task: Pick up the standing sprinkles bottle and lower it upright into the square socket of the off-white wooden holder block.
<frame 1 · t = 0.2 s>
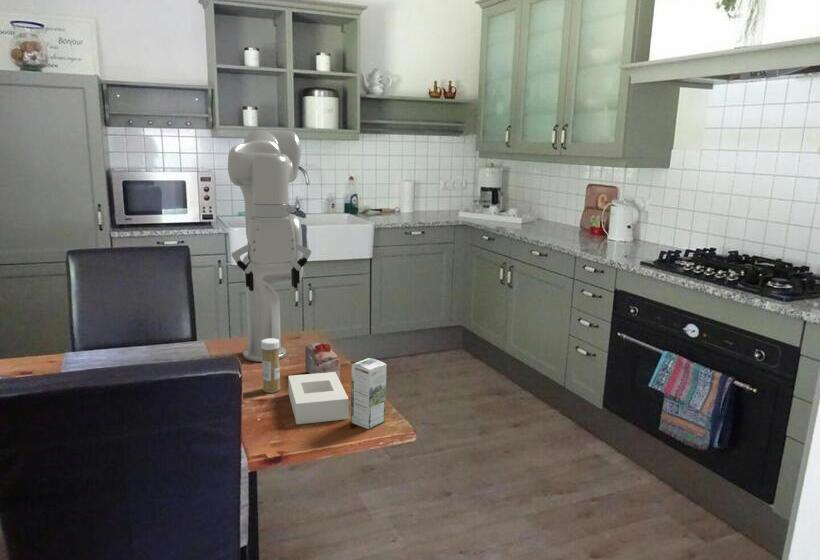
hand: (273, 288, 137), 31 cm above the table, fingers open, 9 cm apart
food item: (321, 379, 168), on the table
sprinkles bottle: (271, 390, 159), on the table
socket block: (317, 406, 150), on the table
syrup box: (368, 423, 141), on the table
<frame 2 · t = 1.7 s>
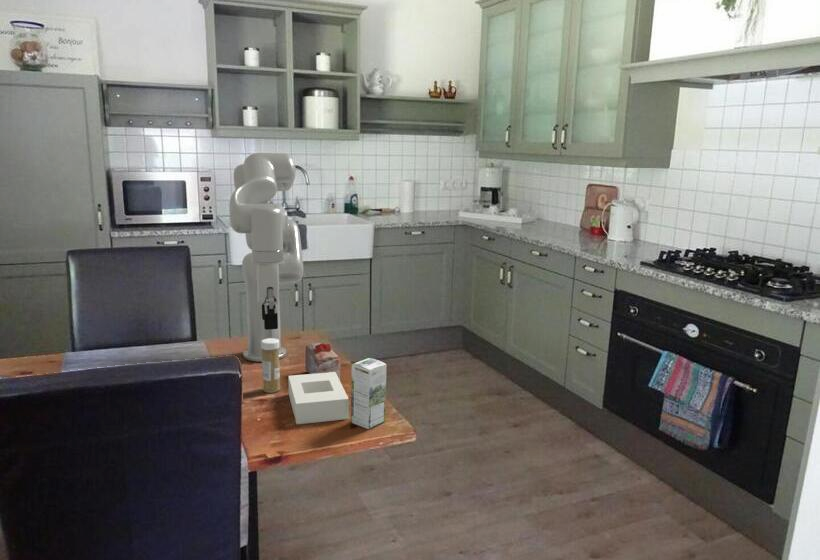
hand: (269, 324, 155), 18 cm above the table, fingers open, 9 cm apart
nothing on the table moved.
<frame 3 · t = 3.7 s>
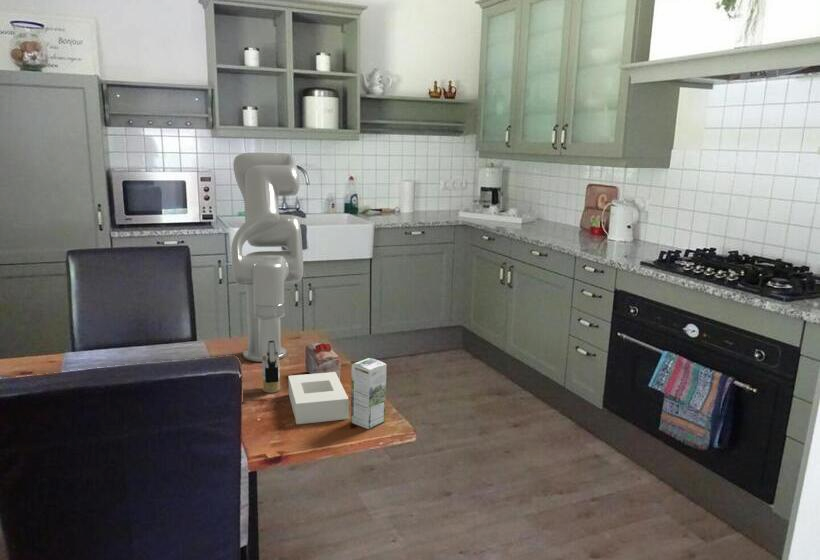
hand: (271, 377, 158), 3 cm above the table, fingers closed on sprinkles bottle, 4 cm apart
sprinkles bottle: (271, 390, 159), on the table, touching gripper
everything else where it was.
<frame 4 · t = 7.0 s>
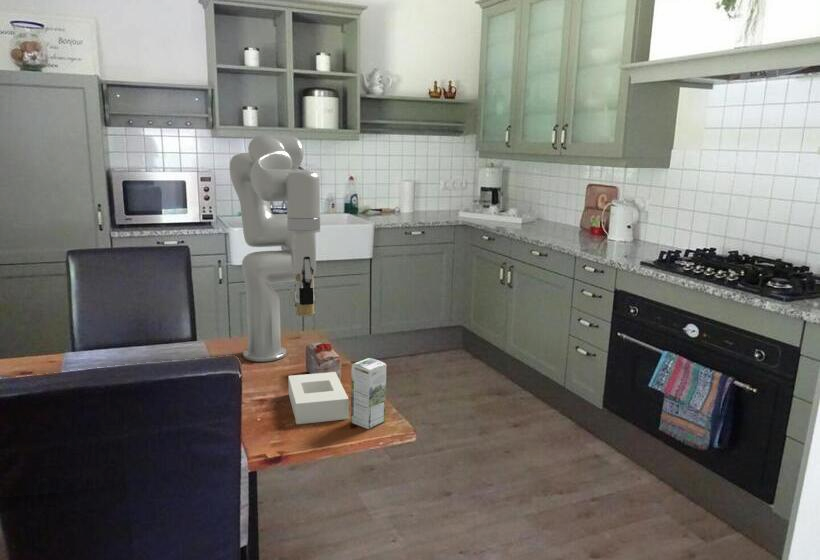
hand: (305, 301, 146), 26 cm above the table, fingers closed on sprinkles bottle, 4 cm apart
sprinkles bottle: (305, 315, 147), point 22 cm above the table, touching gripper
everything else where it was.
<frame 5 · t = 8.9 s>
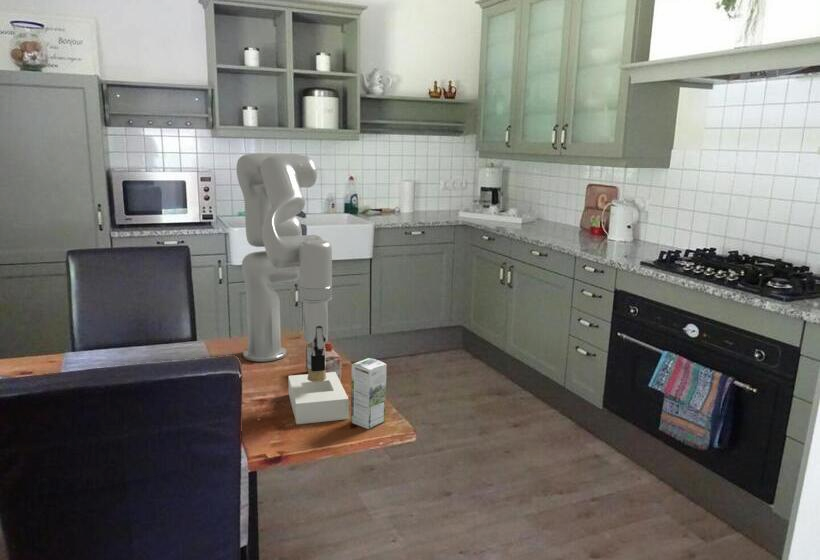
hand: (316, 366, 148), 10 cm above the table, fingers closed on sprinkles bottle, 4 cm apart
sprinkles bottle: (316, 380, 148), point 7 cm above the table, touching gripper
everything else where it was.
when the fingers open (6 cm above the table, at t = 10.5 s): sprinkles bottle drops 2 cm, resting in socket block.
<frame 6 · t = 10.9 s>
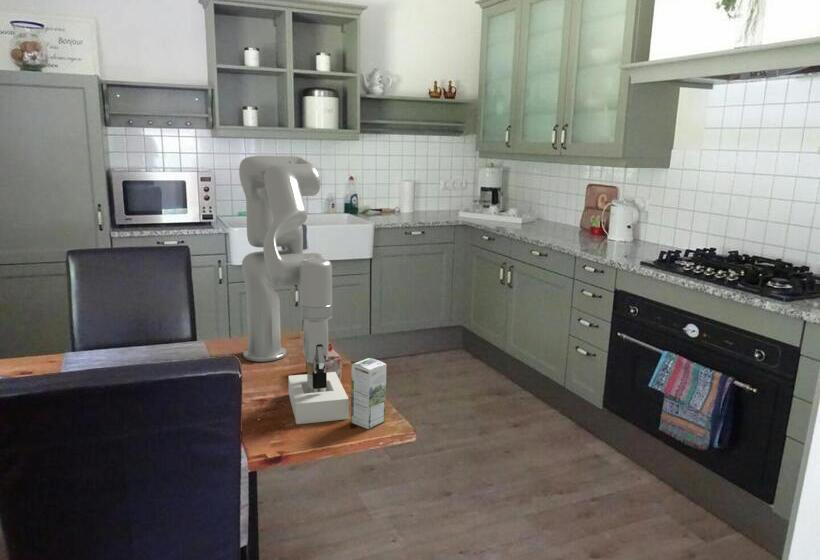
hand: (317, 381, 148), 6 cm above the table, fingers open, 8 cm apart
sprinkles bottle: (316, 406, 150), resting in socket block
everything else where it was.
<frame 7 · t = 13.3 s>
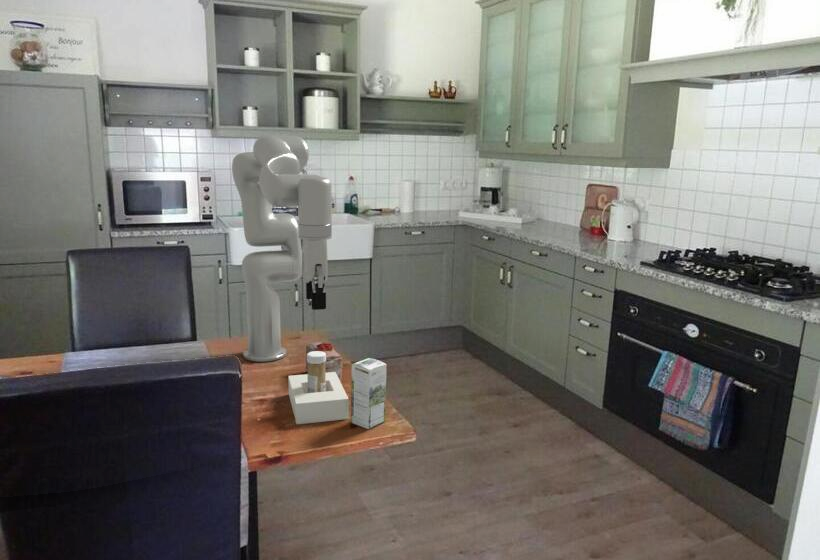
hand: (315, 303, 144), 26 cm above the table, fingers open, 9 cm apart
nothing on the table moved.
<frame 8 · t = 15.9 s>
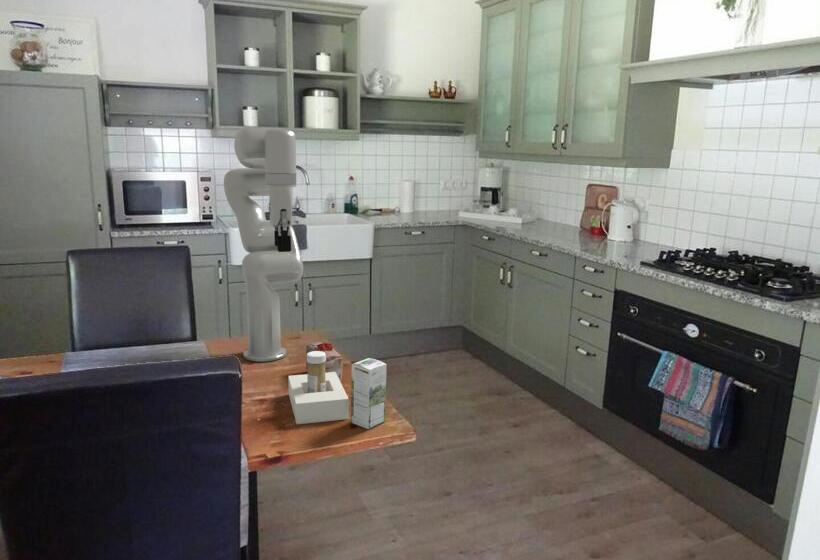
hand: (282, 248, 156), 36 cm above the table, fingers open, 9 cm apart
nothing on the table moved.
at the end: sprinkles bottle 0.2 cm off-centre on the socket block, point 0.0 cm above the socket block's base; sprinkles bottle tilted 0°; the gripper is holding nothing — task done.
